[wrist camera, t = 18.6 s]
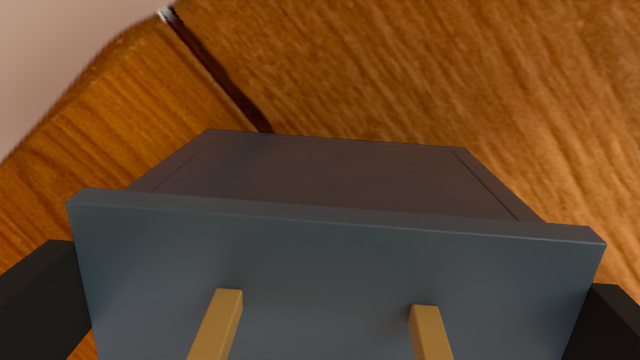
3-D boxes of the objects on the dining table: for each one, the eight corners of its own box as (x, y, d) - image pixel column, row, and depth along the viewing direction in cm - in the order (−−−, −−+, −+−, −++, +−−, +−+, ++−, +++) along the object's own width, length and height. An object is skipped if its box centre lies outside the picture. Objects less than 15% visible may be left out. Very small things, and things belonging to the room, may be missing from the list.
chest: (207, 128, 21) (119, 191, 13) (465, 147, 21) (550, 224, 12) (213, 403, 27) (156, 570, 18) (415, 420, 27) (449, 598, 18)
